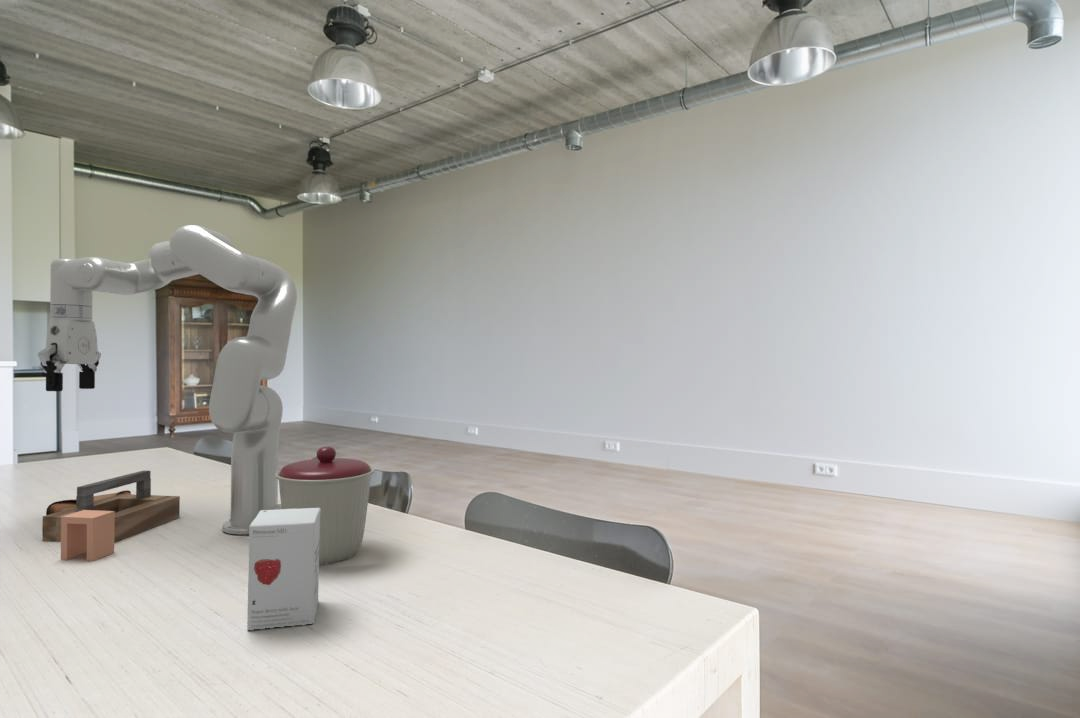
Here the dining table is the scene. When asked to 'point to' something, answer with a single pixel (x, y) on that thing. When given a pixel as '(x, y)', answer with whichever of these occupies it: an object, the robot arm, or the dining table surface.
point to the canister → (330, 499)
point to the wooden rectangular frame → (119, 507)
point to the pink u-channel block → (87, 534)
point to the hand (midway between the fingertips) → (71, 389)
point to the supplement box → (283, 568)
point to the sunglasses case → (72, 503)
